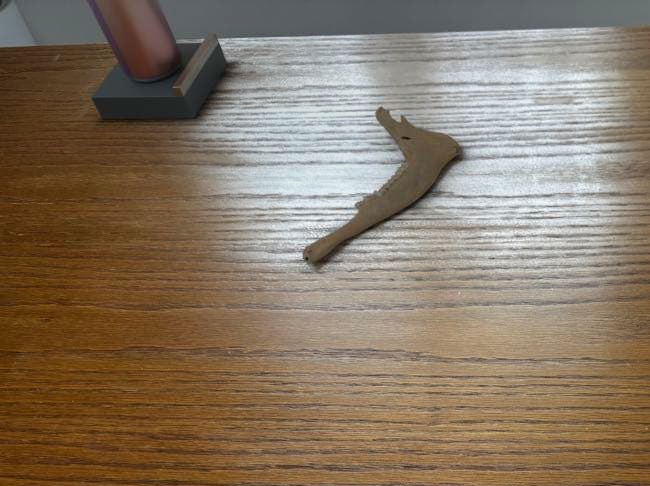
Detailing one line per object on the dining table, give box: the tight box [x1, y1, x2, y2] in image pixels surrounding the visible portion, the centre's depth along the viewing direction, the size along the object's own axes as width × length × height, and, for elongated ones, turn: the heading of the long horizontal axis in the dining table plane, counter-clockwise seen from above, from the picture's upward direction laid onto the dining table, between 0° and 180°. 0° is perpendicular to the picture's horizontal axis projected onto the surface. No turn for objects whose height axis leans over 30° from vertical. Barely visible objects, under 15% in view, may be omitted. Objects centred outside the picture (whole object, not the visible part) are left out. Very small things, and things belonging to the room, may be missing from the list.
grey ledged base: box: [90, 32, 229, 120], centre depth 87 cm, size 10×10×4 cm
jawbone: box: [301, 106, 460, 266], centre depth 73 cm, size 9×20×2 cm, turn 168°
